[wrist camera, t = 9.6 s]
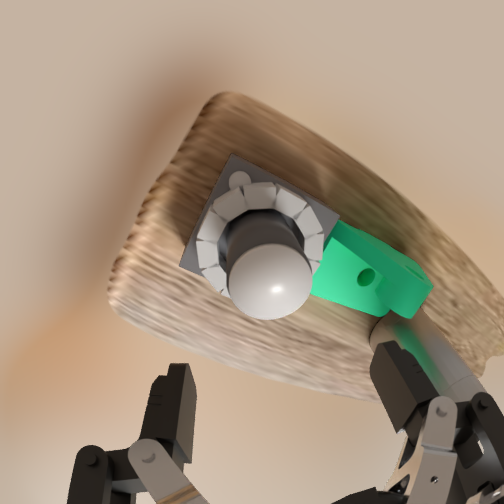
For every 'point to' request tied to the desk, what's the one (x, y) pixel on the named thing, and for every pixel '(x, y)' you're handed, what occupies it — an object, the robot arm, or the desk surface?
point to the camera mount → (368, 274)
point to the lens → (266, 265)
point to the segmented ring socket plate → (253, 197)
